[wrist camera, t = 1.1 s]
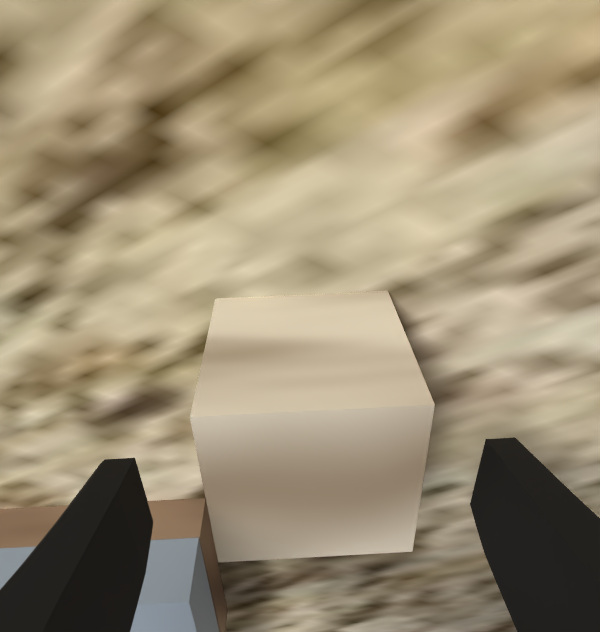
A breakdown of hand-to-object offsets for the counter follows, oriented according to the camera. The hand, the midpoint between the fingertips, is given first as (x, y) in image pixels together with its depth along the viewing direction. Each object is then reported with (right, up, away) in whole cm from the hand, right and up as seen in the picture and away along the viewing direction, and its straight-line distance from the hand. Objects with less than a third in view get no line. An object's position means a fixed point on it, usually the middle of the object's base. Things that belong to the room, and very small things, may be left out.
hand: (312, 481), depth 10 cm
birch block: (0, +2, +4) cm, 4 cm away
